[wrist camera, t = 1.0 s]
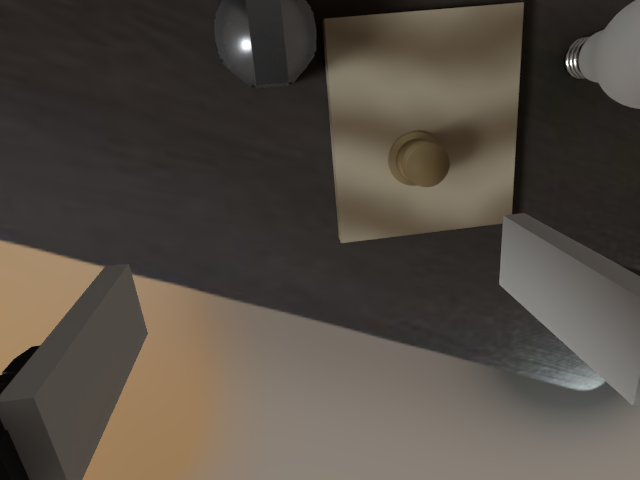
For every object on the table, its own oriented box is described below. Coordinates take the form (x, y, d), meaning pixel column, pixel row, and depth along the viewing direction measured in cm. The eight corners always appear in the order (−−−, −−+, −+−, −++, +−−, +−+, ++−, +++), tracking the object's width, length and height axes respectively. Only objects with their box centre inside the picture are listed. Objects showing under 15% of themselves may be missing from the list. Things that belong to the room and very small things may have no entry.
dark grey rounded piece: (215, -4, 30) (198, -33, 22) (304, -11, 30) (317, -42, 23) (229, 91, 32) (218, 92, 24) (313, 83, 32) (326, 82, 25)
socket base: (322, 21, 31) (330, 11, 27) (514, 5, 32) (551, -7, 28) (339, 238, 36) (348, 257, 32) (504, 218, 37) (533, 234, 33)
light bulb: (629, 19, 33) (793, -11, 23) (598, 111, 35) (736, 121, 25) (549, 1, 32) (683, -39, 22) (521, 96, 34) (633, 101, 24)
